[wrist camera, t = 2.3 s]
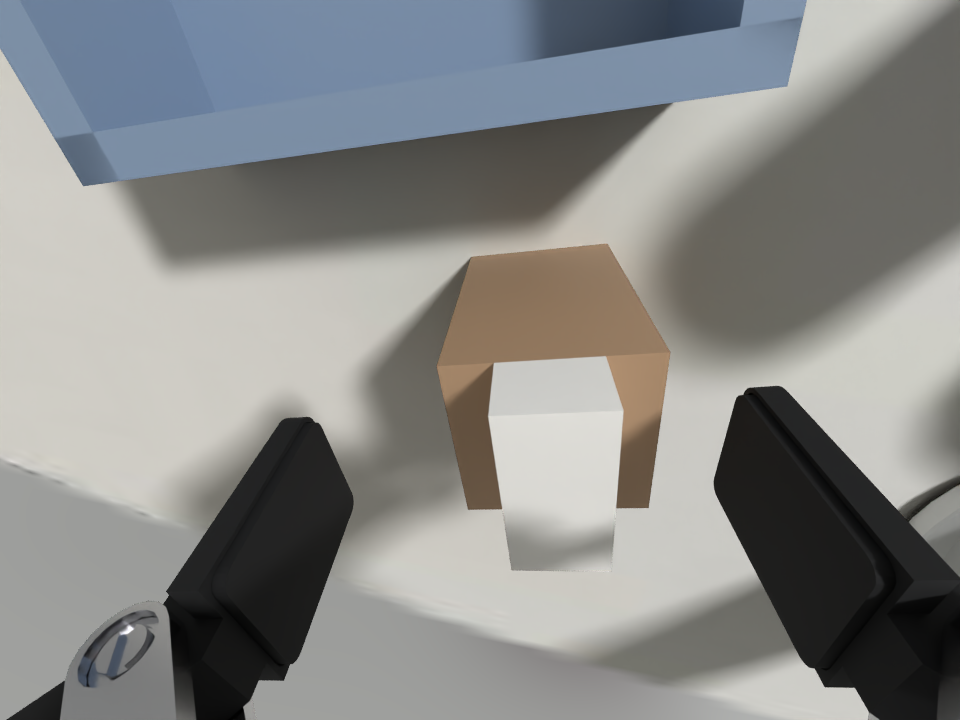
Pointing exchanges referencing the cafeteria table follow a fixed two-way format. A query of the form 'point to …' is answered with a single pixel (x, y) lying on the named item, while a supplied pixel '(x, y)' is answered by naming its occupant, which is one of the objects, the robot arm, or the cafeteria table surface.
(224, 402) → the cafeteria table surface
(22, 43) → the tub
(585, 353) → the brown and white block
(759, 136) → the cafeteria table surface
